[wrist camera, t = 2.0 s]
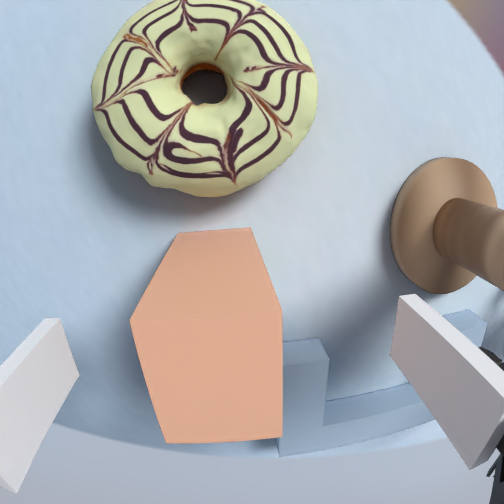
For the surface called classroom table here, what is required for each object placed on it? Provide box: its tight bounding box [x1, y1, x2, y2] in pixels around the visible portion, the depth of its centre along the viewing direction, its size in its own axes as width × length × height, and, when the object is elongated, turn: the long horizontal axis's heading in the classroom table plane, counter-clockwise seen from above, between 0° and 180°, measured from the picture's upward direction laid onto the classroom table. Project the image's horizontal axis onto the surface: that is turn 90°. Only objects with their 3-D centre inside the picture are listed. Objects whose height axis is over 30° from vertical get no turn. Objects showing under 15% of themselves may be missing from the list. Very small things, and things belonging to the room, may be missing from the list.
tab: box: [129, 227, 283, 443], centre depth 14 cm, size 4×5×10 cm
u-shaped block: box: [276, 310, 488, 457], centre depth 21 cm, size 16×9×2 cm, turn 93°
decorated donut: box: [91, 0, 318, 197], centre depth 14 cm, size 10×11×4 cm
